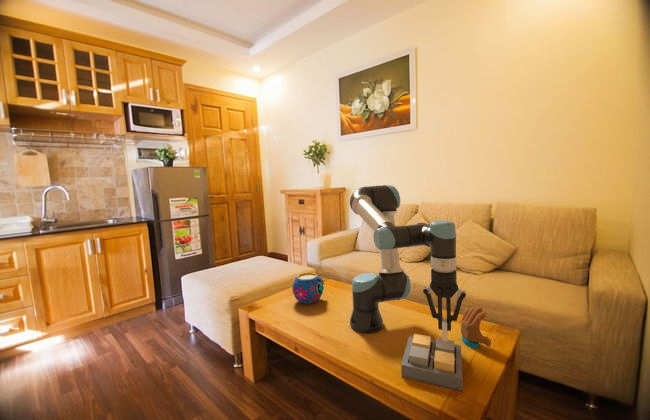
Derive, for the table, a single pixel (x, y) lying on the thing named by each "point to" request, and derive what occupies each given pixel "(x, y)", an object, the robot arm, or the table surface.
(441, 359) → the ochre button near right
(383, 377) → the table surface
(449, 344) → the grey button far right
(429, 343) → the ochre button far left
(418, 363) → the grey button near left
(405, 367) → the button board
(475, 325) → the toy
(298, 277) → the ceramic pot
